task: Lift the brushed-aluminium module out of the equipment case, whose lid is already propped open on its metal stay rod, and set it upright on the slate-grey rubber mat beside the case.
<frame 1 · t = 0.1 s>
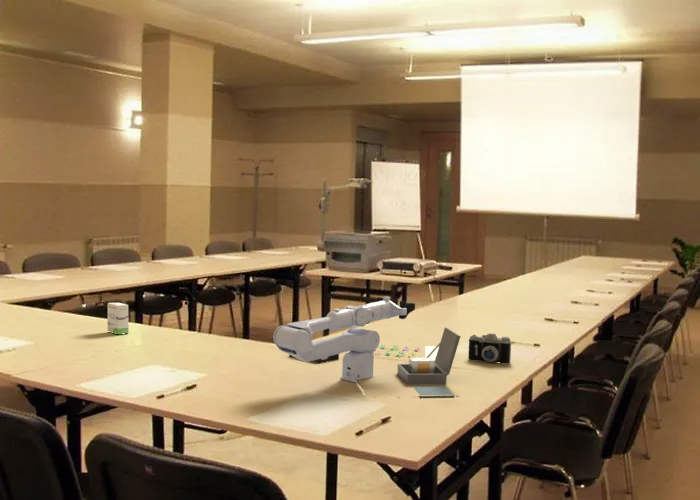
hand: (405, 304, 248), 22 cm above the table, tool horizontal, fingers open, 7 cm apart
camera: (488, 362, 266), on the table
disk drive: (313, 359, 265), on the table
module: (421, 378, 234), point 1 cm above the table, touching case
ink box: (117, 333, 300), on the table
mat: (432, 393, 221), on the table
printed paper: (395, 354, 279), on the table
case: (421, 381, 234), on the table
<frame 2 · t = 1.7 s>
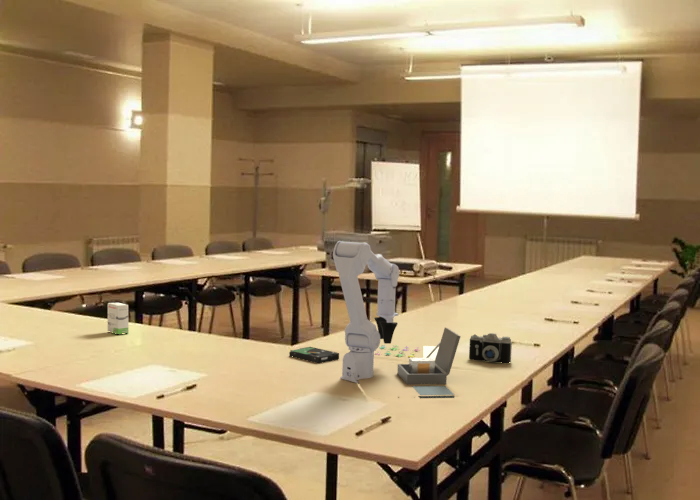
hand: (385, 341, 249), 9 cm above the table, tool pointing down, fingers open, 7 cm apart
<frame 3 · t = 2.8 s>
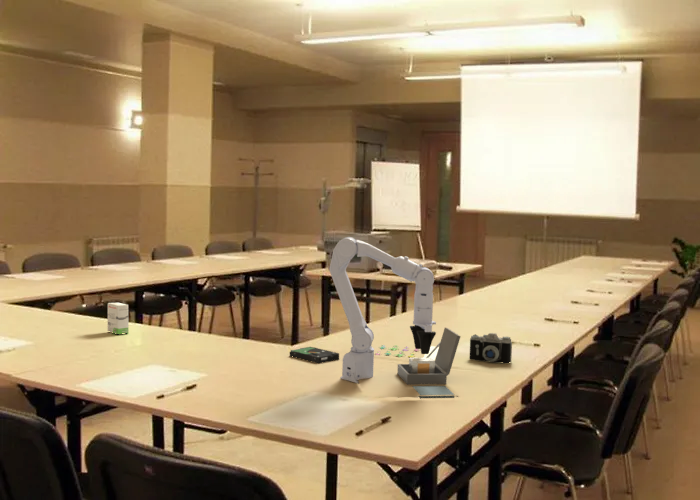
hand: (421, 351, 234), 9 cm above the table, tool pointing down, fingers open, 7 cm apart
nothing on the table moved.
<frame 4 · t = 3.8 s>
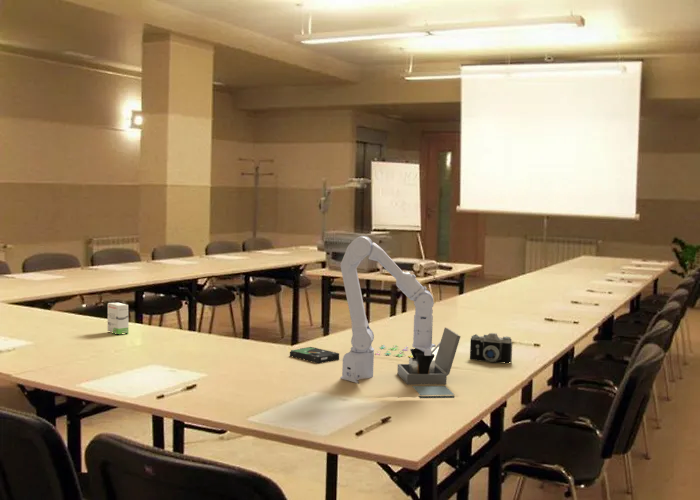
hand: (421, 374, 234), 2 cm above the table, tool pointing down, fingers closed on module, 5 cm apart
module: (421, 378, 234), point 1 cm above the table, touching gripper
everything else where it was.
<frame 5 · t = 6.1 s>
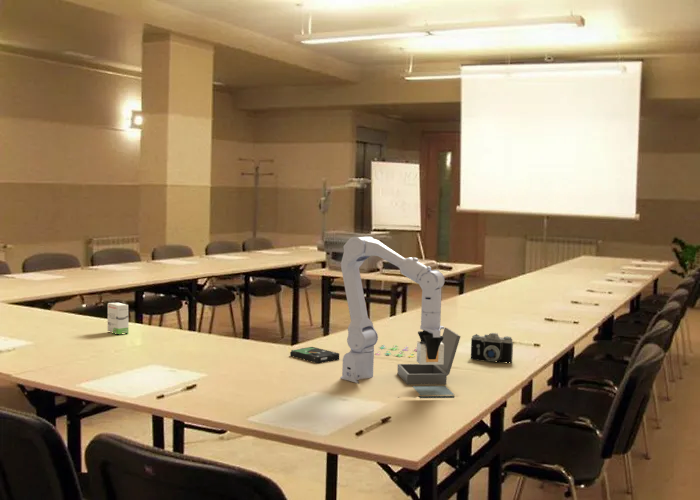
hand: (429, 357, 225), 9 cm above the table, tool pointing down, fingers closed on module, 5 cm apart
module: (429, 362, 226), point 8 cm above the table, touching gripper
when the fingers open (4 cm above the table, at t = 7.9 s): module drops 2 cm, resting on mat.
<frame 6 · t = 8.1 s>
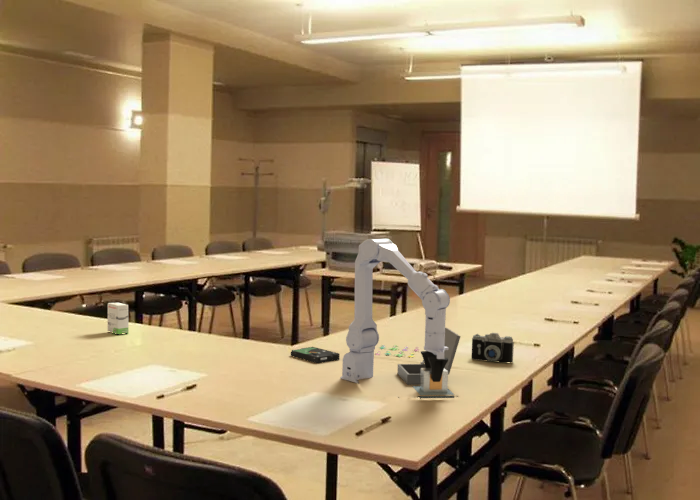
hand: (433, 378, 220), 4 cm above the table, tool pointing down, fingers open, 6 cm apart
module: (433, 390, 221), point 1 cm above the table, touching mat
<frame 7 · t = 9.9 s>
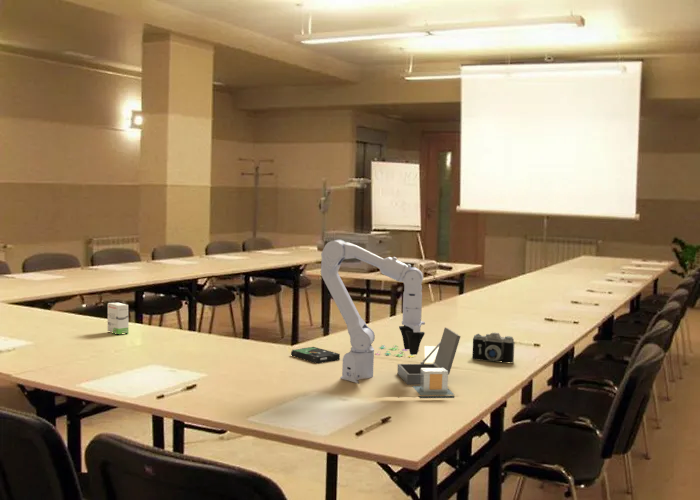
hand: (410, 351, 233), 9 cm above the table, tool pointing down, fingers open, 7 cm apart
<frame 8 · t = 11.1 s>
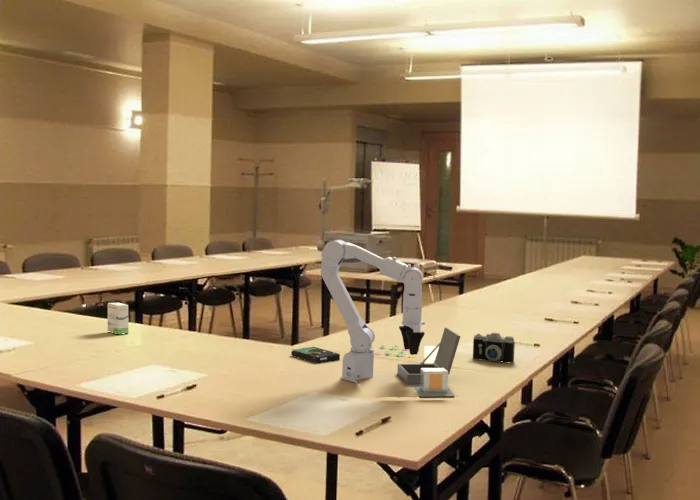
hand: (410, 351, 233), 9 cm above the table, tool pointing down, fingers open, 7 cm apart
at the end: module inside the target area on the mat (0.3 cm from its centre), point 1.0 cm above the mat's base; module tilted 0°; the gripper is holding nothing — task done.
